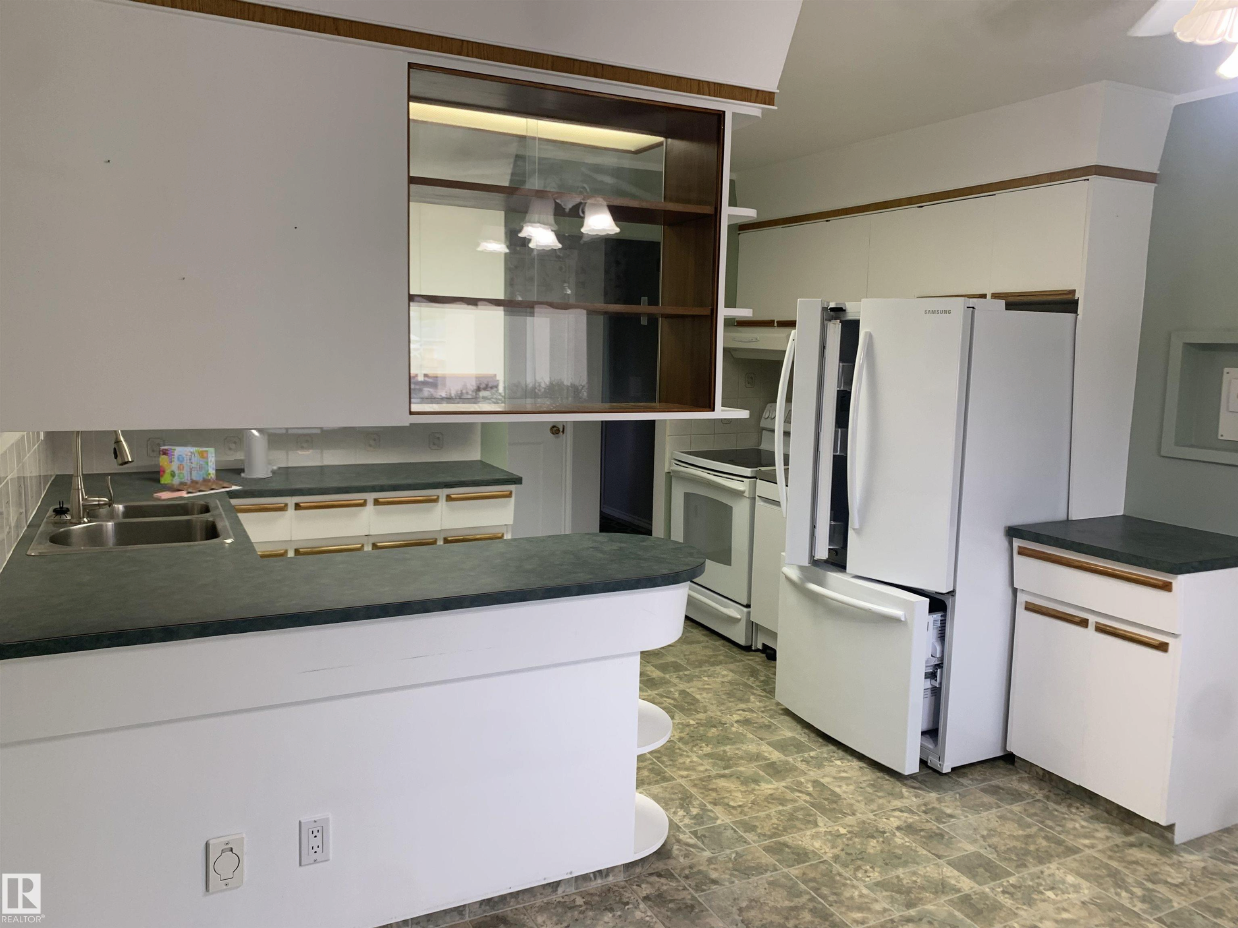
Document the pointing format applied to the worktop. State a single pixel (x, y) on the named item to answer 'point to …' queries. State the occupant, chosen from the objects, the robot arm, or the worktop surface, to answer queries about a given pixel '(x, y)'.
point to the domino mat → (210, 491)
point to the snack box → (186, 464)
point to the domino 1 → (170, 494)
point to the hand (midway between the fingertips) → (221, 423)
